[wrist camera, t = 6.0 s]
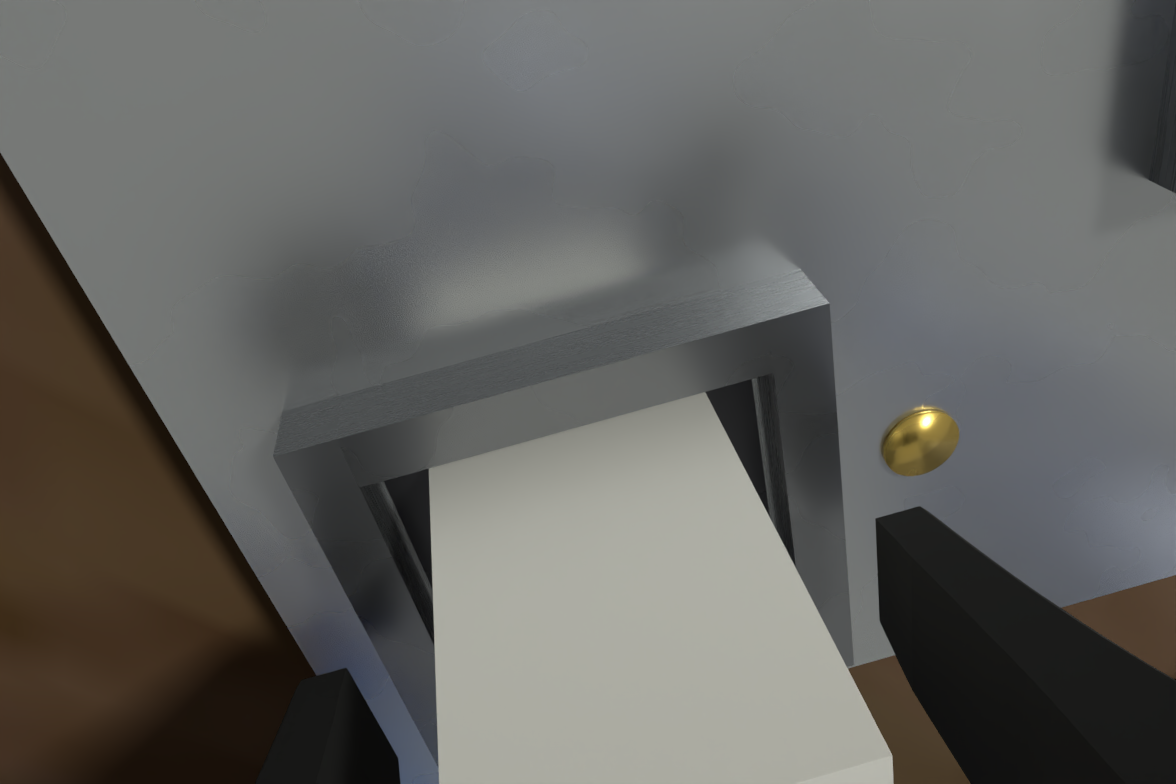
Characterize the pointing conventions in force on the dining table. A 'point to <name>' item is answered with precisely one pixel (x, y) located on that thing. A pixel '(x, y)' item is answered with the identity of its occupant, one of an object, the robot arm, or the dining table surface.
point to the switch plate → (625, 271)
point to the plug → (631, 619)
